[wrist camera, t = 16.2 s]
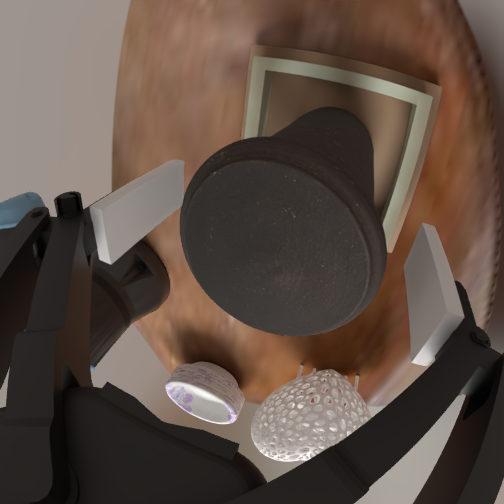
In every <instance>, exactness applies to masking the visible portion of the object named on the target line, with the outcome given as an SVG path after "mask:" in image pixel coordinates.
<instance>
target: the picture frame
mask: <svg viewBox="0 0 504 504" xmlns="http://www.w3.org/2000/svg"><path fill="white" fill-rule="evenodd" d="M441 92H442V87H440V86H437V85H435V84H432V83H430V82H427V81H424V80H421V79H418V78H416V77H413V76H410V75H407V74H404V73H401V72H397V71H394V70H391V69H387V68H384V67H380V66H377V65H373V64H369V63H365V62H361V61H357V60H353V59H349V58H344V57H339V56H335V55H330V54H324V53H319V52H313V51H307V50H300V49H293V48H285V47H276V46H266V45H254V44H251V49H250V58H249V67H248V75H247V84H246V93H245V103H244V112H243V121H242V131H241V140H243V139H247V138H251V137H262V136H267V137H271V136H272V135H274V134H275V133H277V132H278V131H280V130H282V129H283V128H285V127H286V126H288V125H289V124H291V123H292V122H294V121H295V120H297V119H298V118H300V117H301V116H303V115H304V114H306V113H308V112H310V111H312V110H315V109H318V108H322V107H336V108H341V109H344V110H346V111H349V112H350V113H352V114H354V115H355V116H356V117H357V118H358V119H360V120H361V121H362V123H363V124H364V125H365V127H366V128H367V130H368V132H369V134H370V136H371V140H372V144H373V149H374V205H375V207H376V209H377V211H378V213H379V216H380V219H381V222H382V225H383V228H384V232H385V238H386V245H387V252H390V253H392V251H393V248H394V246H395V243H396V241H397V238H398V236H399V233H400V231H401V228H402V225H403V223H404V220H405V217H406V215H407V212H408V209H409V206H410V204H411V201H412V198H413V195H414V192H415V189H416V186H417V183H418V180H419V177H420V173H421V170H422V167H423V164H424V160H425V157H426V153H427V150H428V146H429V143H430V139H431V135H432V131H433V127H434V123H435V119H436V115H437V111H438V106H439V102H440V97H441Z"/></svg>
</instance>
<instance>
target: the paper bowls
mask: <svg viewBox="0 0 504 504" xmlns="http://www.w3.org/2000/svg"><path fill="white" fill-rule="evenodd" d="M165 388H166V392H167V394H168V395H169V397H170V398H171V399H172V400H173V401H174V402H175V403H176V404H177V405H178V406H179V407H181V408H182V409H184V410H185V411H186V412H188V413H190V414H192V415H194V416H196V417H198V418H200V419H203V420H206V421H209V422H212V423H217V424H230V423H233V422H234V421H235V420H236V419H237V417H238V415H239V413H240V410H241V408H242V406H243V403H244V395H243V393H242V392H241V390H240V389H239V388H238V384H237V381H236V380H235V378H234V377H233V376H232V375H231V374H230V373H229V372H228V371H226V370H225V369H223V368H222V367H220V366H218V365H215V364H212V363H209V362H195V363H193V364H181V365H179V366H178V367H177V368H176V369H175V370H174V372H173V374H172V375H171V377H170V379H169V380H168V382H167V383H166V387H165Z"/></svg>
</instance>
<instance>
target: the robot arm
mask: <svg viewBox="0 0 504 504" xmlns="http://www.w3.org/2000/svg"><path fill="white" fill-rule="evenodd" d="M183 199H184V161H181V160H176V159H172V160H170V161H168V162H166V163H164V164H162V165H160V166H158V167H157V168H155V169H153V170H151V171H149V172H147V173H145V174H144V175H142V176H140V177H138V178H136V179H135V180H133V181H131V182H129V183H128V184H126V185H124V186H122V187H121V188H119V189H117V190H116V191H113V192H111V193H110V194H108V195H106V196H105V197H103V198H101V199H100V200H98V201H96V202H95V203H93V204H91V205H90V206H88V207H87V208H85V209H84V210H83V206H82V200H81V194H80V193H79V192H75V191H74V192H66V193H63V194H61V195H59V196H57V197H56V198H55V199H54V202H55V208H56V212H57V217H50V214H49V209H48V208H47V207H45V205H44V203H43V201H42V199H41V197H40V196H39V195H38V194H37V193H34V192H27V193H24V194H21V195H18V196H16V197H13V198H11V199H8V200H6V201H4V202H2V203H0V389H1V387H2V385H3V383H4V380H5V377H6V375H7V372H8V370H9V367H10V370H9V379H8V388H7V400H6V407H3V408H0V504H354V503H355V502H356V501H358V500H359V499H360V498H361V497H362V496H364V495H365V494H366V493H367V492H368V491H369V487H370V486H371V485H372V484H373V483H374V482H376V481H377V480H378V479H379V478H380V477H382V476H383V475H384V474H385V473H386V472H387V471H388V470H390V469H391V467H393V466H394V465H395V464H396V463H397V462H398V461H399V460H400V459H401V458H402V457H403V456H404V455H405V454H406V453H407V452H408V451H409V450H410V449H411V448H412V447H413V446H414V445H415V444H416V443H417V442H418V441H419V440H420V439H421V438H422V437H423V436H424V435H425V434H426V433H427V432H428V431H429V429H430V428H431V427H432V426H433V425H434V424H435V423H436V421H437V420H438V419H439V418H440V417H441V416H442V414H443V413H444V412H445V411H446V410H447V408H448V407H449V406H450V405H451V403H452V402H453V401H454V400H455V398H456V397H457V396H458V394H459V393H460V392H461V393H463V394H465V395H466V397H465V400H464V403H463V405H462V408H461V410H460V413H459V416H458V418H457V420H456V423H455V425H454V428H453V430H452V432H451V435H450V437H449V439H448V441H447V443H446V445H445V447H444V449H443V451H442V454H441V455H440V457H439V459H438V461H437V463H436V465H435V467H434V469H433V471H432V472H431V474H430V476H429V478H428V480H427V481H426V483H425V485H424V486H423V488H422V490H421V492H420V493H419V495H418V496H417V498H416V500H415V501H414V503H413V504H494V502H495V500H496V497H497V495H498V492H499V490H500V487H501V484H502V481H503V478H504V353H503V354H500V353H499V352H497V351H495V350H494V349H492V348H490V346H491V343H490V339H489V337H488V336H487V334H486V333H485V332H484V330H482V329H481V328H480V327H478V326H476V322H475V319H474V315H473V312H472V308H471V307H470V306H471V305H470V302H469V300H468V295H467V292H466V290H465V289H464V287H463V286H462V284H461V283H460V282H458V281H455V280H454V279H453V276H452V273H451V270H450V267H449V264H448V261H447V258H446V255H445V252H444V249H443V247H442V244H441V241H440V239H439V236H438V234H437V231H436V229H435V227H434V226H431V225H428V224H425V223H422V224H421V226H420V229H419V231H418V234H417V236H416V239H415V241H414V243H413V246H412V248H411V250H410V253H409V255H408V257H407V259H406V262H405V264H404V273H405V281H406V290H407V300H408V311H409V325H410V343H411V363H415V364H419V365H424V366H428V365H429V364H430V362H431V361H432V360H433V359H434V357H435V362H434V363H433V364H432V365H431V366H430V367H429V368H428V369H427V370H426V371H425V372H424V373H423V374H422V375H420V376H419V377H418V378H417V379H416V380H415V381H414V382H413V383H412V384H411V385H410V386H409V387H408V388H407V389H405V390H404V391H403V392H402V393H401V394H400V395H399V396H398V397H396V398H395V399H394V400H393V401H392V402H391V403H389V404H388V405H387V406H386V407H385V408H384V409H383V410H381V411H380V412H379V413H377V414H376V415H375V416H374V417H372V418H371V419H370V420H369V421H367V422H366V423H365V424H363V425H362V426H361V427H359V428H358V429H357V430H355V431H354V432H353V433H351V434H350V435H349V436H347V437H346V438H344V439H343V440H342V441H340V442H339V443H337V444H335V445H334V446H330V447H329V448H327V449H325V450H324V451H322V452H320V453H319V454H317V455H316V456H314V457H312V458H311V459H309V460H308V461H306V462H304V463H303V464H301V465H299V466H297V467H296V468H294V469H293V470H291V471H289V472H287V473H285V474H283V475H282V476H280V477H278V478H276V479H274V480H272V481H270V482H268V483H267V481H266V479H265V478H264V476H263V474H262V473H261V472H260V470H259V469H258V468H257V467H256V466H255V465H254V464H253V463H252V462H251V461H250V460H249V459H247V458H246V457H245V456H244V455H242V454H241V453H239V452H238V448H239V444H238V443H235V442H232V441H230V440H227V439H224V438H221V437H219V436H217V435H214V434H211V433H209V432H207V431H204V430H200V429H194V428H189V427H184V426H179V425H174V424H169V423H165V422H163V421H161V420H160V419H159V418H157V417H156V416H155V415H154V414H152V412H150V411H149V410H148V409H147V408H146V407H145V406H144V405H143V404H142V403H141V402H139V401H138V400H137V399H136V398H135V397H133V396H131V395H130V394H128V393H126V392H124V391H123V390H121V389H119V388H117V387H116V386H114V385H112V384H111V383H109V382H107V383H106V384H105V385H104V387H103V388H97V387H93V384H92V380H91V372H92V371H94V370H95V367H96V366H97V364H98V363H99V362H100V360H101V359H102V358H103V357H104V356H105V355H106V353H107V352H108V351H109V350H110V348H111V347H112V346H113V345H114V344H115V342H116V341H117V340H118V339H119V338H120V336H121V335H122V334H123V333H124V332H125V331H126V329H127V328H128V327H129V326H130V325H131V324H132V323H133V322H135V321H137V320H139V319H140V318H142V317H144V316H146V315H147V314H149V313H151V312H153V311H155V310H157V309H158V308H159V307H160V306H161V305H162V304H163V303H164V302H165V300H166V299H167V298H168V295H169V291H170V284H169V279H168V275H167V273H166V270H165V268H164V266H163V264H162V263H161V261H160V259H159V258H158V257H157V255H156V254H155V253H154V252H153V250H152V249H151V248H150V247H149V246H148V245H147V244H145V243H144V242H143V241H142V240H140V239H142V238H143V237H144V236H145V235H146V234H148V233H149V232H150V231H151V230H152V229H154V228H155V227H156V226H157V225H159V224H160V223H161V222H162V221H163V220H165V219H166V218H167V217H168V216H170V215H171V214H172V213H173V212H175V211H176V210H177V209H178V208H180V207H181V206H182V204H183Z"/></svg>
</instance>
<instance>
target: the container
mask: <svg viewBox="0 0 504 504" xmlns="http://www.w3.org/2000/svg"><path fill="white" fill-rule="evenodd" d="M180 236H181V242H182V247H183V251H184V254H185V258H186V261H187V263H188V265H189V267H190V269H191V271H192V273H193V275H194V277H195V279H196V280H197V282H198V283H199V285H200V286H201V287H202V289H203V290H204V291H205V293H206V294H207V295H208V296H209V297H210V298H211V299H212V300H213V301H214V302H215V303H216V304H217V305H218V306H219V307H220V308H222V309H223V310H224V311H225V312H227V313H228V314H230V315H231V316H233V317H234V318H236V319H237V320H239V321H241V322H243V323H244V324H246V325H248V326H251V327H253V328H256V329H259V330H262V331H265V332H269V333H273V334H277V335H287V336H308V335H316V334H321V333H325V332H328V331H332V330H334V329H337V328H339V327H341V326H343V325H345V324H347V323H348V322H350V321H352V320H353V319H354V318H356V317H357V316H358V315H360V314H361V313H362V312H363V311H364V310H365V309H366V308H367V307H368V305H369V304H370V303H371V302H372V300H373V298H374V297H375V295H376V293H377V291H378V289H379V287H380V284H381V282H382V280H383V276H384V273H385V268H386V261H387V245H386V238H385V232H384V228H383V225H382V222H381V219H380V216H379V213H378V211H377V209H376V207H375V205H374V149H373V144H372V140H371V136H370V134H369V132H368V130H367V128H366V127H365V125H364V124H363V123H362V121H361V120H360V119H358V118H357V117H356V116H355V115H354V114H352V113H350V112H349V111H346V110H344V109H341V108H336V107H322V108H318V109H315V110H312V111H310V112H308V113H306V114H304V115H303V116H301V117H300V118H298V119H297V120H295V121H294V122H292V123H291V124H289V125H288V126H286V127H285V128H283V129H282V130H280V131H278V132H277V133H275V134H274V135H272V136H271V137H267V136H262V137H251V138H247V139H243V140H239V141H237V142H234V143H232V144H229V145H227V146H226V147H224V148H222V149H220V150H219V151H217V152H216V153H214V154H213V155H212V156H211V157H209V158H208V159H207V160H206V161H205V162H204V163H203V164H202V166H201V167H200V168H199V169H198V170H197V172H196V173H195V175H194V176H193V178H192V180H191V182H190V183H189V185H188V187H187V190H186V193H185V196H184V199H183V204H182V207H181V214H180Z"/></svg>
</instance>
